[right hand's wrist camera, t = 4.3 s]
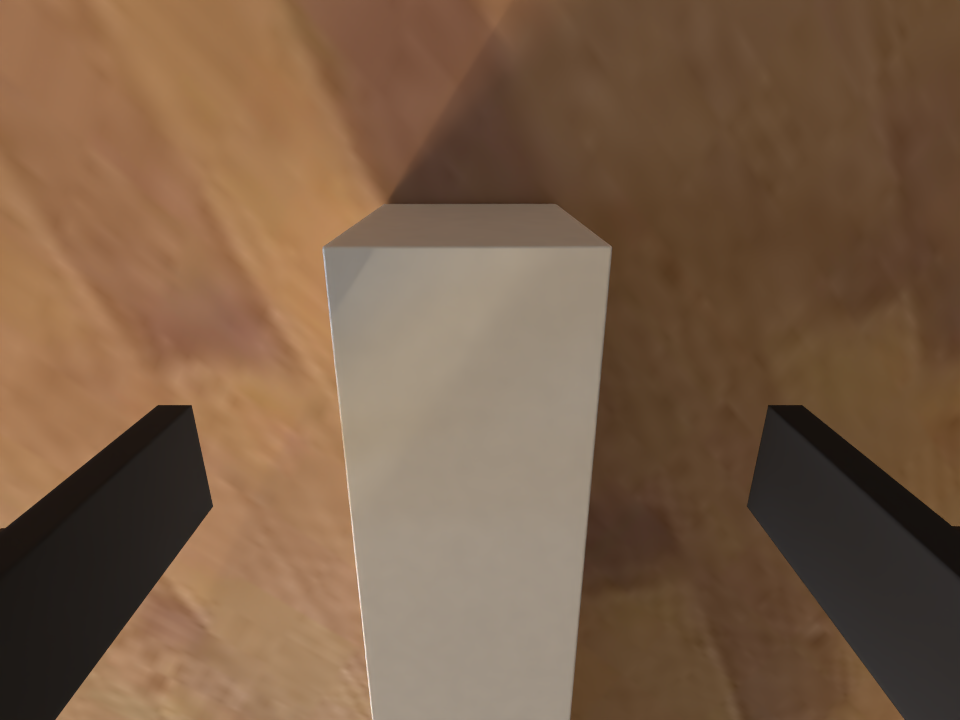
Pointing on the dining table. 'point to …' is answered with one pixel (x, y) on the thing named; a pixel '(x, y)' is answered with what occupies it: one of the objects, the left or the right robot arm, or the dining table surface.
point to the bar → (469, 449)
